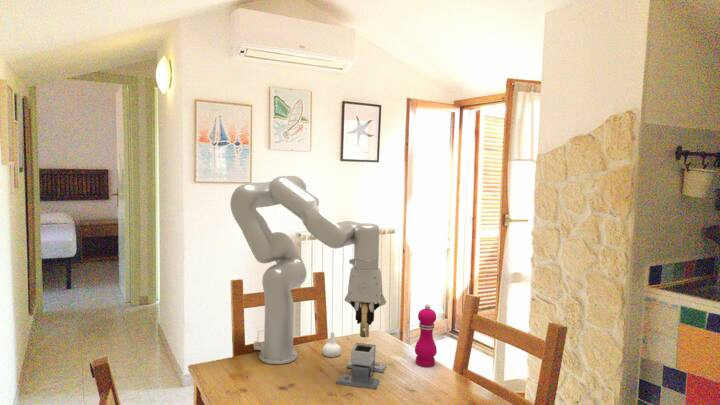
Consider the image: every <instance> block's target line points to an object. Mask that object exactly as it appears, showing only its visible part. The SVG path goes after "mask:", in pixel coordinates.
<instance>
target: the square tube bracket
mask: <svg viewBox="0 0 720 405" xmlns="http://www.w3.org/2000/svg"><path fill="white" fill-rule="evenodd" d="M376 348H377V346H376V344H370V343H363V342H362V343H361V342H356V343H355V345H354V346H353V347H352V349H351V350H350V359H349V360H348V362H347V363H346V368H348V369H352V364H356V365H364V366H371V365H372V363H373V361H374V369H373V372H379V373H384V371H385V369H386V368H387V363H386V362H381V361H376Z"/></svg>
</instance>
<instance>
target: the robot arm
mask: <svg viewBox="0 0 720 405" xmlns="http://www.w3.org/2000/svg"><path fill="white" fill-rule="evenodd" d="M319 204H320V200H319V199H318V197H317V196H315V195H313V194H312V193H311V192H309V191H308V190H307V185H306V183H305V182H304V180H303V179H302V178H301V177H299V176H296V175H281V176H277V177H275V178H273V179H272V180H271V181H266V182H248V183H244V184H241V185H239V186H237V187H236V188H235V189H234V191H233V193H232V195H231V198H230V211H231V214H232V216H233V218H234V220H235V222H236V224H237V225H238V226H239V229H240V231H241V232H242V234H243V237H244V239H245V240H246V242H247V244H248V247H249V249H250V250H251V253H252V255H253V256H254V258H255V260H256V261H257V262H258V263H260V264H271V263H274V262H275V263H276V264H275V263H274V265H271V266H269V267H268V268H267V269H266V270H265V271H264V272H263V275H262V280H261V281H262V282H261V283H262V289H263V296H264V297H263V298H264V332H263V333H264V334H263V335H264V338H263V342H262V341H261V342H260V341H254V343H253V350H254V351H260V353H259V355H258V356H259V360H260V361H261V362H263V363H265V364H269V365H284V364H290V363H292V362H294V361H296V359H297V358H298V352H297V350H296V349H294V319H295V318H294V316H295V315H294V310H295V309H294V308H295V305H294V299H293V295H292V291H291V290H292V289H295V288H297V287H300V286H301V285H302V284H303V283H304V282H305V281H306V279H307V268H306V266H305V263H304V261H303V259H302V257H301V255H300V253H299V252H298V249H297V247H296V246H295V244H294V242H293V240H292V238H291V237H290V236H289V235H287V234H286V233H284V232H281V231H280V232H279V231H277V232H275V231H274V232H272V231H271V229H270V227H269V225H268V223H267V221H266V220H265V218H264V216H263V215H261V213H259V212H258V210H257V208H259V209H260V208H266V207H273V206H277V205H281V206H282V207H284V208H286V210H288V211H289V212H291V213H292V214H294V216H296V217H298V218H299V219H300V220H301V221H302V224H303V226H304V227H305V229H306V230H307V231H308V233H310V235H312V236H313V237H314V238H315V239H317V240H318V241H319V242H320V243H322V244H324V245H325V246H327V247H329V248H331V249H341V248H344V247H347V246H351V245H354V247H353V248H354V249H353V252H354V253H353V258H351V259H349V262H348V263H349V264H350V265H352V267H351V269H350V272H349V279H348V287H347V288H348V289H347V294H346V296H345V297H344V301H345V302H346V303H348V304H350V305H351V307H353V309H354V312H355V320H356V324H358V325H360V307H361V302H365V303H370V310H369V312H368V324H369V326H371V325H372V323H373V322H374V321H375V311H376V310H377V309H378V308H379V307H382V306H384V305H386V304H387V300H386V298H385V297H384V293H383V279H382V270H381V268H379V262H380V261H379V256H380V255H379V254H380V252H379V250H380V227H379V225H377V224H375V223H360V222H356V221H351V220H344V221H339V222H335V221H333V220H332V219H330V218H329V217H328V216H326V215H325V214H324V213H323V212H321V209H320V208H319Z"/></svg>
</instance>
